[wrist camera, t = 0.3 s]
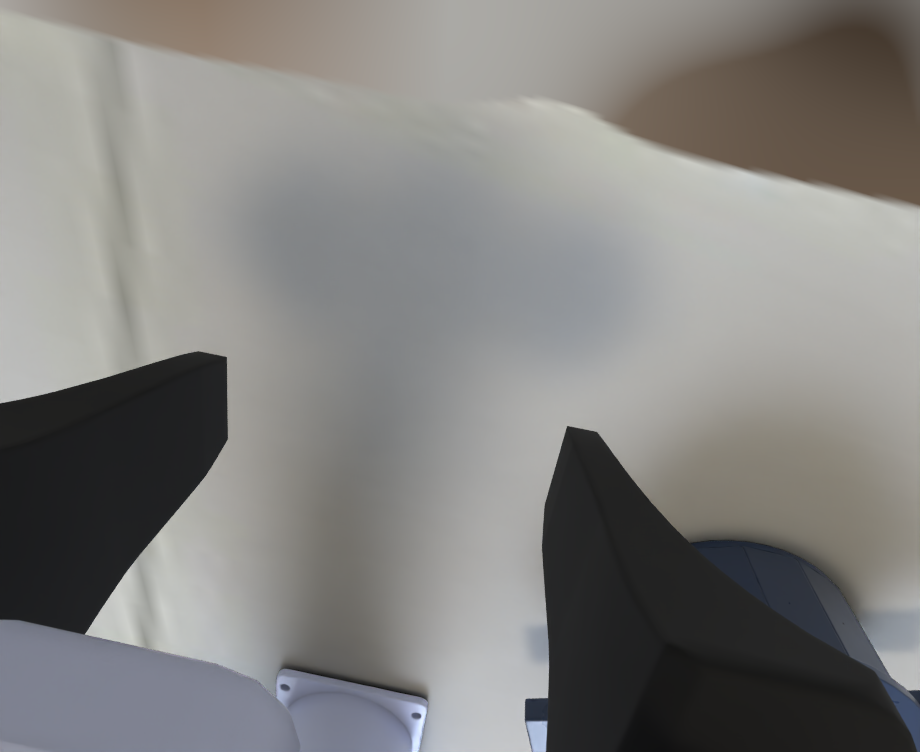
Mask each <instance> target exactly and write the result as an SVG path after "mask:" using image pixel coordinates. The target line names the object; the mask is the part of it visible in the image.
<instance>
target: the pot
mask: <svg viewBox="0 0 920 752" xmlns="http://www.w3.org/2000/svg"><path fill="white" fill-rule="evenodd" d="M691 544H692V545H693V546H694V547H695V548H696V549H697V550H698V551H699V552H700V553H701V554H702V555H703V556H705V557H706V558H707V559H708V560H709V561H710V562H712V563H713V564H714V565H715V566H716V567H717V568H719V569H720V570H721V571H722V572H724V573H725V574H726V575H727V576H729V577H730V578H731V579H732V580H734V581H735V582H736V583H738V584H739V585H740V586H741V587H743V588H744V589H745V590H746V591H748V592H749V593H750V594H752V595H753V596H755V597H756V598H757V599H759V600H760V601H762V602H763V603H764V604H766V605H767V606H769V607H770V608H771V609H773V610H774V611H776V612H777V613H779V614H780V615H782V616H783V617H785V618H787V619H788V620H790V621H791V622H793V623H794V624H796V625H797V626H799V627H800V628H802V629H803V630H805V631H806V632H808V633H809V634H811V635H813V636H814V637H816V638H818V639H820V640H821V641H823V642H825V643H827V644H828V645H830V646H832V647H834V648H835V649H837V650H839V651H841V652H842V653H844V654H846V655H847V656H849V657H852V658H854V659H857V660H859V661H862V662H864V663H866V664H869V665H871V666H873V667H874V668H876V669H878V670H880V671H881V672H883V673H885V674H887V675H888V676H890V675H889V673H888V672H887V670H886V668H885V667H884V665H883V663H882V661H881V660H880V658H879V656H878V655H877V653H876V651H875V649H874V648H873V646H872V644H871V643H870V641H869V639H868V637H867V636H866V634H865V632H864V631H863V629H862V627H861V625H860V624H859V622H858V620H857V619H856V617H855V615H854V614H853V612H852V610H851V608H850V607H849V605H848V603H847V602H846V600H845V598H844V596H843V595H842V593H841V591H840V590H839V588H838V587H837V586H836V585H835V584H834V583H833V582H832V581H831V580H830V579H829V578H828V577H827V576H826V575H825V574H824V573H823V572H821V571H820V570H819V569H817V568H816V567H815V566H814V565H812V564H810V563H809V562H807V561H805V560H803V559H802V558H800V557H798V556H796V555H793V554H791V553H788V552H786V551H784V550H781V549H777V548H774V547H770V546H767V545H762V544H757V543H751V542H742V541H706V542H697V543H691ZM908 692H909V693H910V694H911V695H912V696H913V697H914V698H915V699H916V700H917V701H918V703H919V704H920V690H912V691H908ZM547 718H548V698H538V699H526V701H525V723H526V727H527V732H528V736H529V741H530V745H531V750H532V752H546V739H547Z"/></svg>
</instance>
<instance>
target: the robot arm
mask: <svg viewBox="0 0 920 752" xmlns="http://www.w3.org/2000/svg"><path fill="white" fill-rule="evenodd" d="M227 440H228V419H227V357H224V356H219V355H214V354H209V353H204V352H199V351H198V352H193V353H188V354H183V355H180V356H176V357H172V358H169V359H165V360H162V361H159V362H155V363H152V364H149V365H146V366H142V367H139V368H136V369H133V370H129V371H126V372H123V373H120V374H117V375H113V376H110V377H107V378H103V379H100V380H96V381H92V382H89V383H85V384H81V385H78V386H74V387H70V388H67V389H63V390H60V391H56V392H52V393H48V394H44V395H39V396H35V397H30V398H26V399H21V400H16V401H11V402H6V403H1V404H0V752H419V749H420V744H421V739H422V734H423V729H424V724H425V719H426V715H427V709H428V702H427V701H426V700H425V699H423V698H421V697H417V696H412V695H408V694H403V693H398V692H394V691H389V690H384V689H380V688H375V687H370V686H366V685H361V684H356V683H352V682H347V681H342V680H338V679H333V678H328V677H324V676H319V675H314V674H310V673H305V672H300V671H296V670H291V669H282V670H280V671H279V673H278V675H277V678H276V697H275V696H274V695H273V694H272V693H270V692H269V691H268V690H267V689H266V688H265V687H264V686H263V685H262V684H261V683H259V682H258V681H257V680H255V679H253V678H250V677H248V676H245V675H243V674H240V673H238V672H235V671H233V670H230V669H228V668H225V667H223V666H220V665H218V664H215V663H211V662H206V661H202V660H197V659H192V658H188V657H183V656H179V655H174V654H170V653H165V652H161V651H156V650H152V649H147V648H143V647H138V646H133V645H129V644H124V643H120V642H115V641H111V640H106V639H102V638H97V637H93V636H88V635H85V633H86V632H87V630H88V629H89V627H90V625H91V624H92V622H93V621H94V619H95V617H96V616H97V614H98V613H99V611H100V610H101V608H102V607H103V605H104V604H105V603H106V601H107V600H108V598H109V597H110V595H111V594H112V592H113V591H114V589H115V588H116V586H117V585H118V583H119V582H120V580H121V579H122V577H123V576H124V574H125V573H126V572H127V570H128V569H129V568H130V566H131V565H132V564H133V563H134V561H135V560H136V559H137V557H138V556H139V555H140V554H141V552H142V551H143V550H144V549H145V548H146V547H147V545H148V544H149V543H150V542H151V541H152V539H153V538H154V537H155V536H156V535H157V534H158V532H159V531H160V530H161V529H162V528H163V526H164V525H165V524H166V523H167V522H168V521H169V519H170V518H171V517H172V516H173V515H174V513H175V512H176V511H177V510H178V509H179V508H180V506H181V505H182V504H183V503H184V502H185V500H186V499H187V498H188V497H189V496H190V494H191V493H192V492H193V491H194V490H195V488H196V487H197V486H198V485H199V483H200V482H201V481H202V480H203V478H204V477H205V476H206V474H207V473H208V471H209V470H210V468H211V466H212V465H213V463H214V462H215V460H216V459H217V457H218V455H219V453H220V452H221V450H222V448H223V447H224V445H225V443H226V441H227ZM542 553H543V569H544V584H545V598H546V611H547V625H548V639H549V690H548V718H547V739H546V752H917V749H916V746H915V743H914V740H913V737H912V735H911V733H910V731H909V729H908V727H907V726H906V724H905V722H904V720H903V719H902V717H901V715H900V713H899V712H898V710H897V708H896V706H895V705H894V703H893V701H892V699H891V698H890V696H889V694H888V692H887V691H886V689H885V687H884V685H883V684H882V682H881V680H880V679H879V677H878V676H877V674H876V672H875V671H874V670H872V669H870V668H868V667H867V666H865V665H863V664H861V663H860V662H858V661H856V660H854V659H853V658H851V657H849V656H847V655H846V654H844V653H842V652H841V651H839V650H837V649H835V648H834V647H832V646H830V645H828V644H827V643H825V642H823V641H821V640H820V639H818V638H816V637H814V636H813V635H811V634H809V633H808V632H806V631H805V630H803V629H802V628H800V627H799V626H797V625H796V624H794V623H793V622H791V621H790V620H788V619H787V618H785V617H783V616H782V615H780V614H779V613H777V612H776V611H774V610H773V609H771V608H770V607H769V606H767V605H766V604H764V603H763V602H762V601H760V600H759V599H757V598H756V597H755V596H753V595H752V594H750V593H749V592H748V591H746V590H745V589H744V588H743V587H741V586H740V585H739V584H738V583H736V582H735V581H734V580H732V579H731V578H730V577H729V576H727V575H726V574H725V573H724V572H722V571H721V570H720V569H719V568H717V567H716V566H715V565H714V564H713V563H712V562H710V561H709V560H708V559H707V558H706V557H705V556H703V555H702V554H701V553H700V552H699V551H698V550H697V549H696V548H695V547H694V546H693V545H692V544H691V543H690V542H688V541H687V540H686V539H685V538H684V537H683V536H682V535H681V534H680V533H679V532H678V531H677V530H676V529H675V528H674V527H673V526H672V525H671V524H670V523H669V522H668V521H667V519H666V518H665V517H664V516H663V515H662V514H661V513H660V512H659V511H658V510H657V508H656V507H655V506H654V505H653V504H652V503H651V502H650V500H649V499H648V498H647V497H646V496H645V495H644V493H643V492H642V491H641V490H640V488H639V487H638V486H637V485H636V483H635V482H634V481H633V480H632V478H631V477H630V476H629V474H628V473H627V472H626V471H625V469H624V468H623V467H622V465H621V464H620V462H619V461H618V460H617V458H616V457H615V456H614V454H613V453H612V452H611V450H610V449H609V447H608V446H607V445H606V443H605V442H604V441H603V439H602V438H601V437H600V435H599V434H598V433H597V432H594V431H589V430H584V429H579V428H575V427H570V426H567V429H566V432H565V436H564V439H563V443H562V446H561V450H560V453H559V457H558V460H557V464H556V467H555V471H554V474H553V478H552V481H551V485H550V488H549V492H548V495H547V499H546V502H545V509H544V523H543V540H542Z"/></svg>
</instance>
